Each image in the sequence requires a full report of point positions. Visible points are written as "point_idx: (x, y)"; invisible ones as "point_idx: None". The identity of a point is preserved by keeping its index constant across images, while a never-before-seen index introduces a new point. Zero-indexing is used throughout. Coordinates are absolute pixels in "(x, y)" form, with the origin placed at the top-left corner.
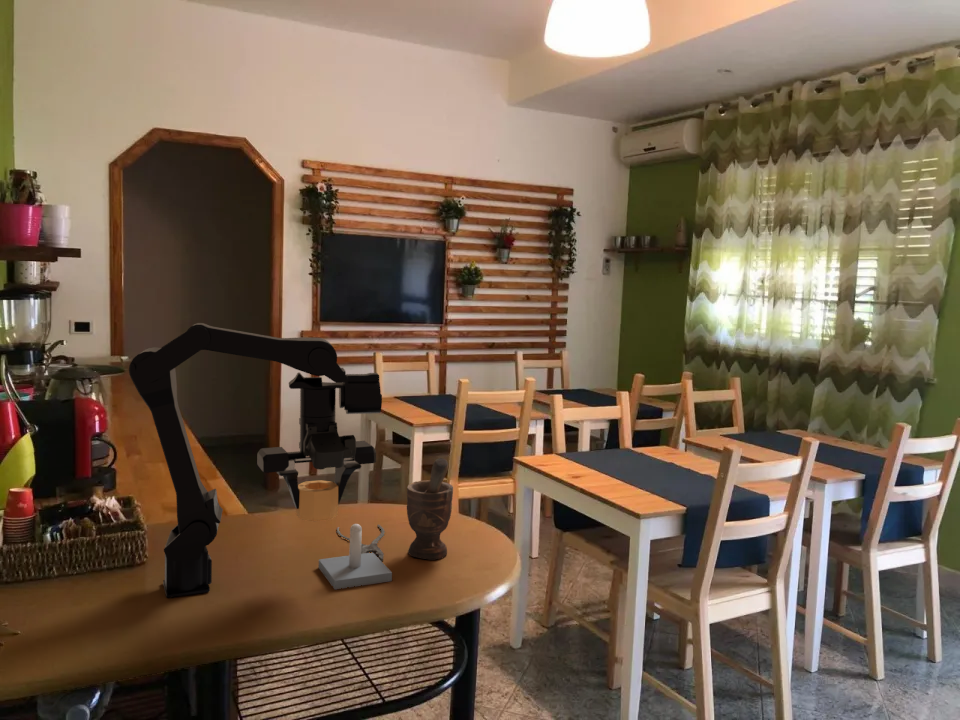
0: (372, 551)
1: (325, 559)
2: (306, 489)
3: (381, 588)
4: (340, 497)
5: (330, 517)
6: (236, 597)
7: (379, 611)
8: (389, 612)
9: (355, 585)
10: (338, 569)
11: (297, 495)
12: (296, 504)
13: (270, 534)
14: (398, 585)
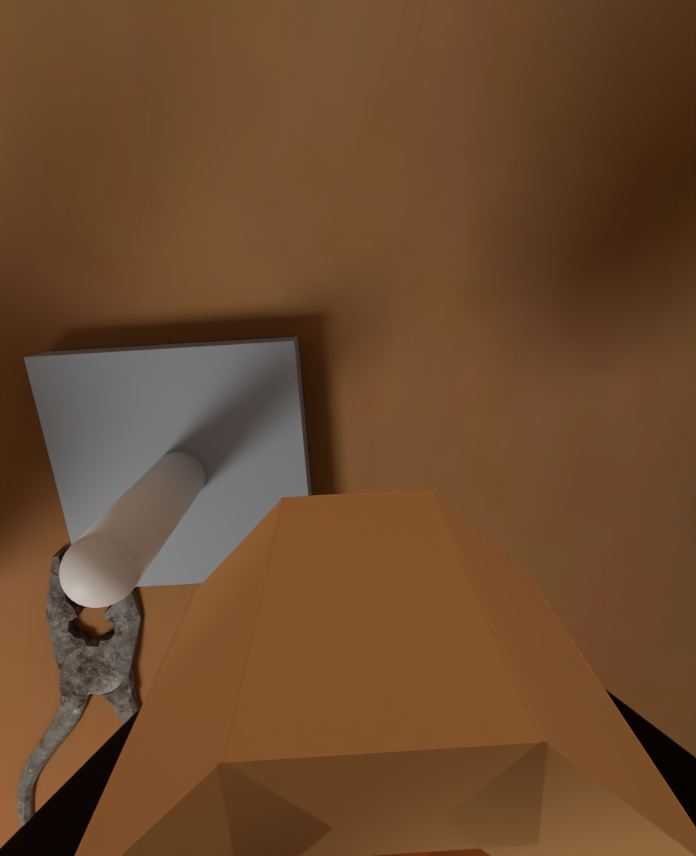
0: (87, 639)
1: None
2: None
3: (102, 290)
4: (102, 754)
5: (275, 512)
6: (673, 378)
7: (148, 36)
8: (103, 7)
9: (207, 342)
10: (255, 457)
11: (685, 797)
12: (614, 701)
13: None
14: (24, 298)
